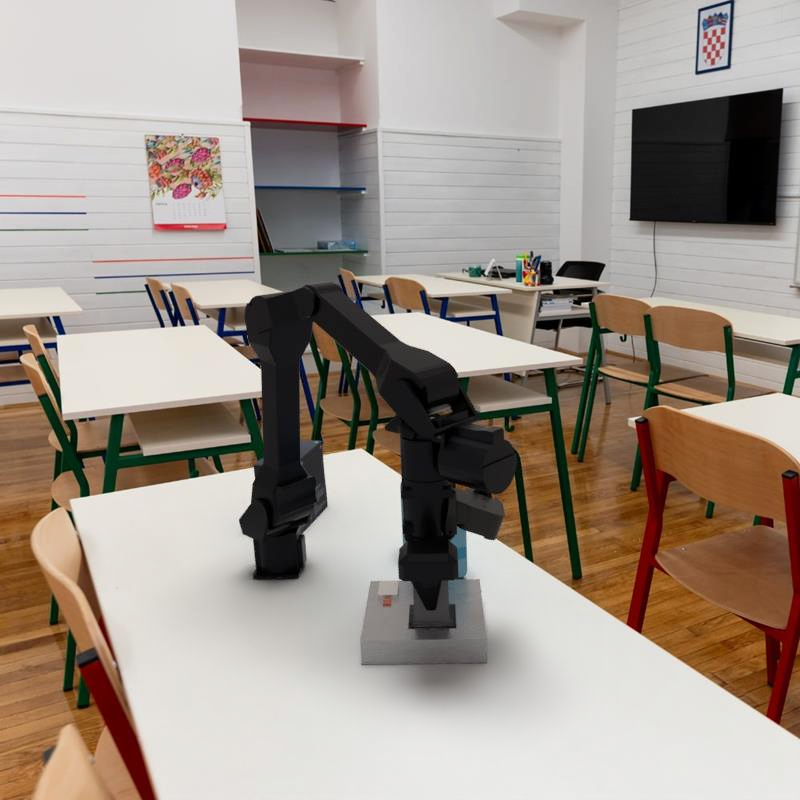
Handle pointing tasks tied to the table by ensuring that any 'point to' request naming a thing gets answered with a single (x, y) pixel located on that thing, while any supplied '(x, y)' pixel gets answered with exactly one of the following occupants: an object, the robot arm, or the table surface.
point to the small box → (315, 467)
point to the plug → (441, 609)
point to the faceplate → (399, 644)
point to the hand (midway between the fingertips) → (431, 600)
